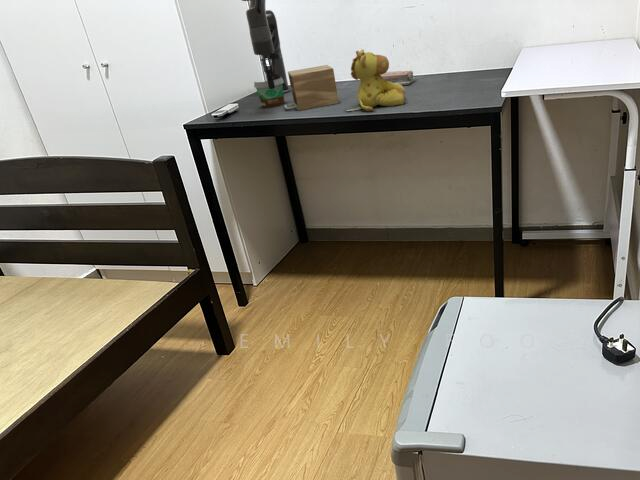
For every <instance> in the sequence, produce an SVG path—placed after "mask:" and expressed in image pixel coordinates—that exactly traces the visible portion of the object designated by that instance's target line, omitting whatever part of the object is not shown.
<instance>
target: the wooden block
mask: <svg viewBox="0 0 640 480" xmlns="http://www.w3.org/2000/svg"><path fill="white" fill-rule="evenodd" d="M287 75H288V81H289V86H290V90H291V95H292V99H293V102H296V101H297V106H298V110H297V111H303V110H308V109H315V108H321V107H326V106H332V105H338V104H340V103H339V102H340V101H339V95H338V89H337V83H336V76H335V72H334V68H333V67H332V66H330V65H329V64H325V65H319V66H313V67H307V68H301V69H295V70H289V71H287Z"/></svg>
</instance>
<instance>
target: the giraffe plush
mask: <svg viewBox="0 0 640 480" xmlns="http://www.w3.org/2000/svg"><path fill="white" fill-rule="evenodd" d="M355 55H356V56H355V57H353V59H352V63H351V66H350V71H351V73H350V76H351V78H352V79H354V80H355V81H358V80H360V84H359V86H358V89H357V102H358V103H359V105H360V106H357V107H354V108H350V109H346V110H345V111H346V112H354V111H358V110H359V111H360V110H364V111H366V112H373V111H374V108H375V107H376V106H378V105H380V106H382V107H394V106H400V105H404V104H405V103H406V89H405V88H404V85H400V84H397V83H392V82H390V81H387V80H385V79H383V78H382V76H381V75H380V74H384V73H386V72H388V71H389V69H390V61H389V59H388V57H387V56H385V55H383V54H374V53H373V52H369V51H367V52H365V49H363V48H362V49H360V51H359V50H355Z"/></svg>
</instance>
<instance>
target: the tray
mask: <svg viewBox="0 0 640 480" xmlns="http://www.w3.org/2000/svg"><path fill="white" fill-rule="evenodd" d="M283 107H284V108H285V109H286V110H291V109H296V111H299V110H298V105H297V101H296V102H294V101H293V102H292V103H290V104H283Z"/></svg>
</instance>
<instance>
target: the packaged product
mask: <svg viewBox="0 0 640 480" xmlns="http://www.w3.org/2000/svg"><path fill="white" fill-rule="evenodd" d="M380 75H381V76H382V78H383V79H385V80H387V81H390V82H392V83H397V84H400V85H402V86H409V85H410V84H412V83H413V82H415V81H416V77H415V76H414V71H413V70H400V71H387V72H386V73H384V74H380Z"/></svg>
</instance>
